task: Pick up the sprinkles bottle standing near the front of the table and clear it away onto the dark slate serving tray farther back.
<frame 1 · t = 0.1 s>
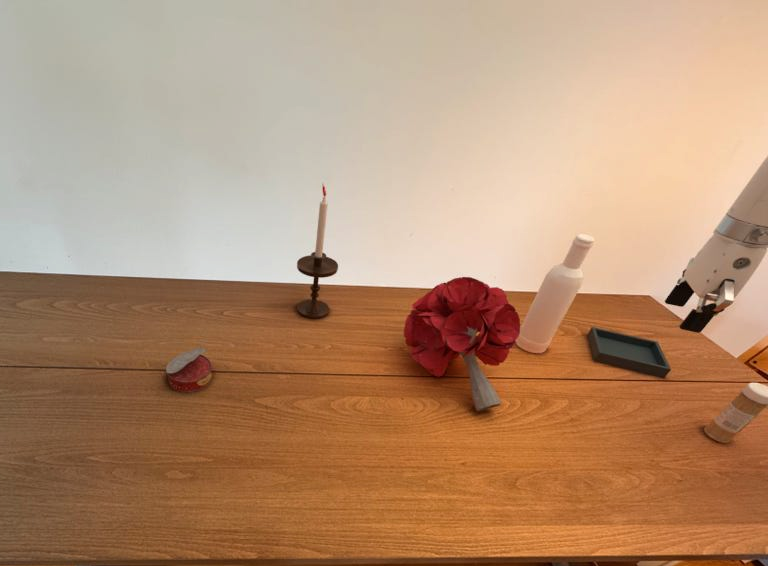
hand: (680, 316, 80), 24 cm above the table, tool pointing down, fingers open, 9 cm apart
bouquet: (448, 374, 101), on the table
bottle: (529, 345, 112), on the table
canned food: (190, 377, 96), on the table
sprinkles bottle: (715, 436, 90), on the table
candlestick: (312, 311, 120), on the table
serving tray: (623, 355, 110), on the table
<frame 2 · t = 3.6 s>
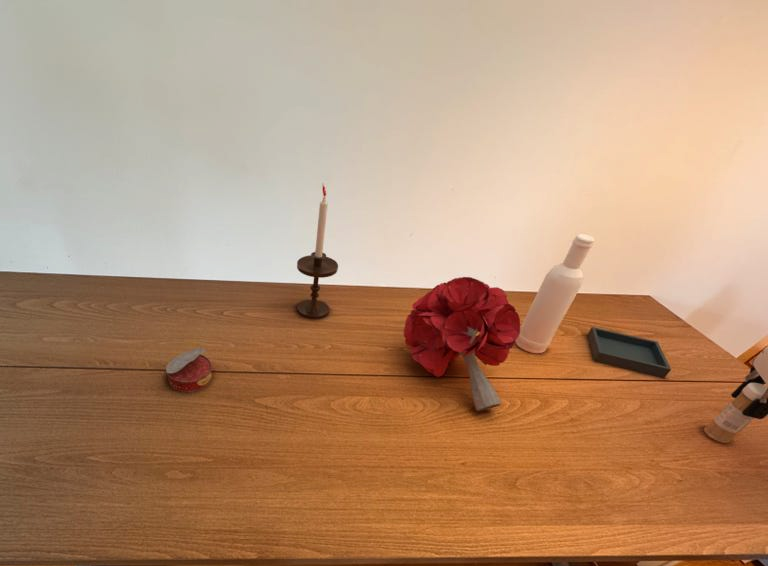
hand: (746, 406, 84), 9 cm above the table, tool pointing down, fingers closed on sprinkles bottle, 4 cm apart
sprinkles bottle: (715, 436, 90), on the table, touching gripper
everything else where it was.
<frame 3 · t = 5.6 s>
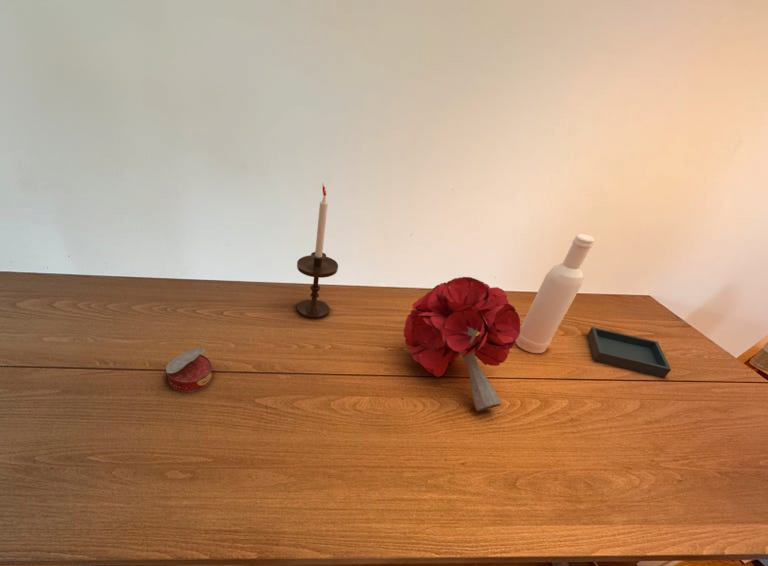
sprinkles bottle: (763, 366, 81), point 17 cm above the table, touching gripper
everything else where it was.
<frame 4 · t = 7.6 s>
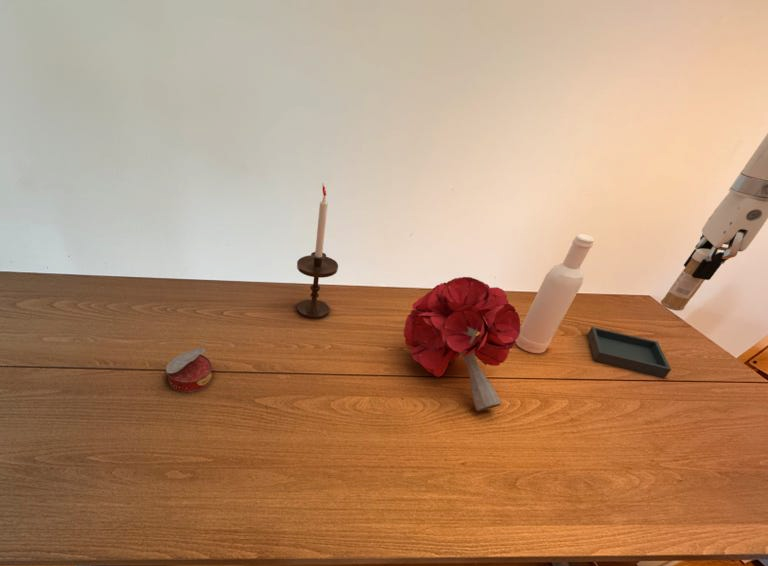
hand: (696, 272, 92), 26 cm above the table, tool pointing down, fingers closed on sprinkles bottle, 4 cm apart
sprinkles bottle: (670, 306, 98), point 17 cm above the table, touching gripper
everything else where it was.
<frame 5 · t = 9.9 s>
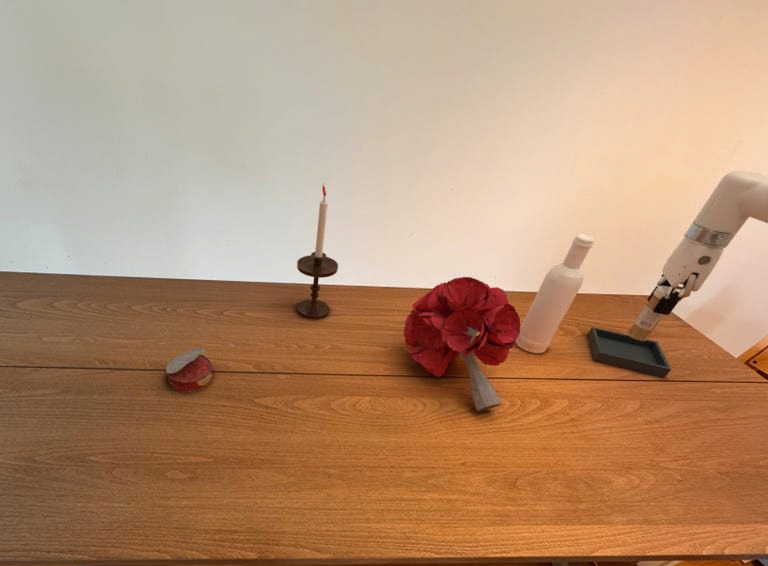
hand: (657, 306, 101), 15 cm above the table, tool pointing down, fingers closed on sprinkles bottle, 4 cm apart
sprinkles bottle: (636, 336, 107), point 6 cm above the table, touching gripper
everything else where it was.
when the fingers open (10 cm above the table, at t = 11.6 s): sprinkles bottle stays where it is, resting on serving tray.
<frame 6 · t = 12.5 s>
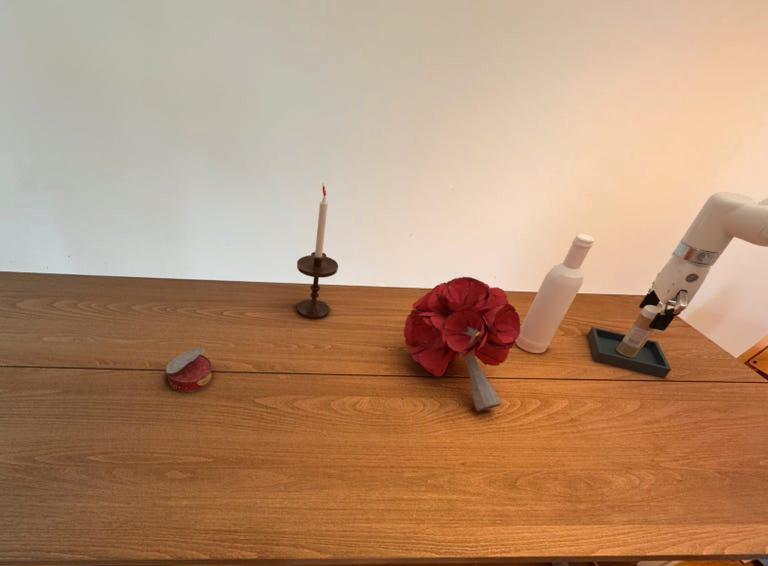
hand: (650, 318, 103), 12 cm above the table, tool pointing down, fingers open, 9 cm apart
sprinkles bottle: (624, 353, 110), point 1 cm above the table, touching serving tray
everything else where it was.
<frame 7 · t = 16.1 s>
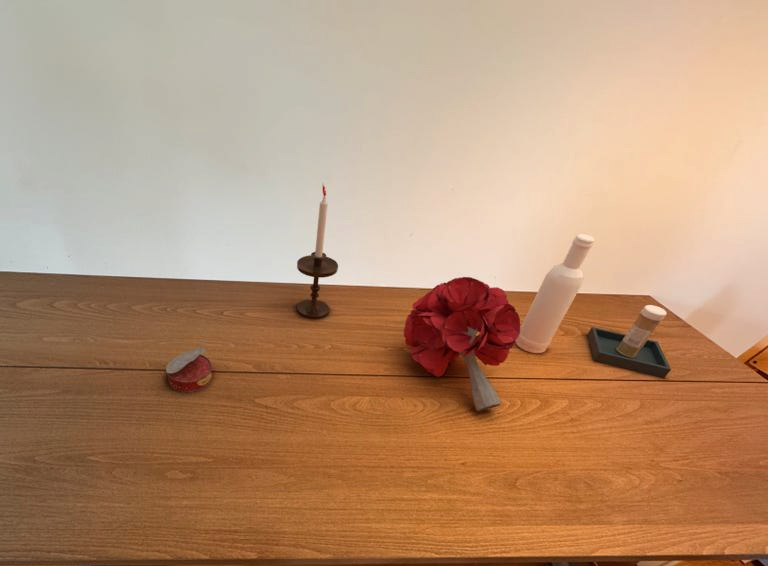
nothing on the table moved.
at the end: sprinkles bottle inside the target area in the serving tray (0.0 cm from its centre), point 0.6 cm above the serving tray's base; sprinkles bottle tilted 0°; the gripper is holding nothing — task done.
